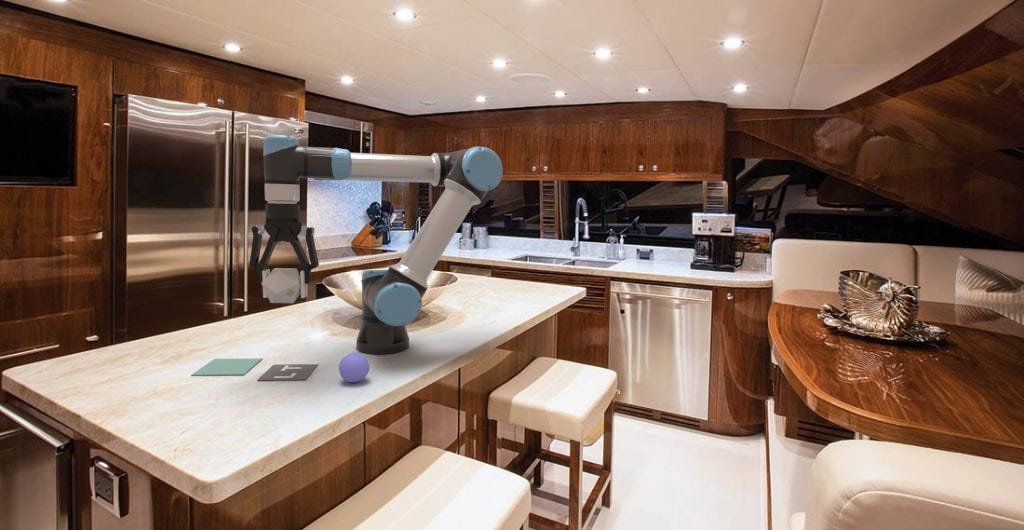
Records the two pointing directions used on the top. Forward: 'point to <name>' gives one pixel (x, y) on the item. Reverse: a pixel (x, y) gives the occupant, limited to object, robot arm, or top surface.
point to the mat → (227, 367)
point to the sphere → (354, 367)
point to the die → (282, 285)
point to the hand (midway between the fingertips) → (285, 296)
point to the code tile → (288, 372)
